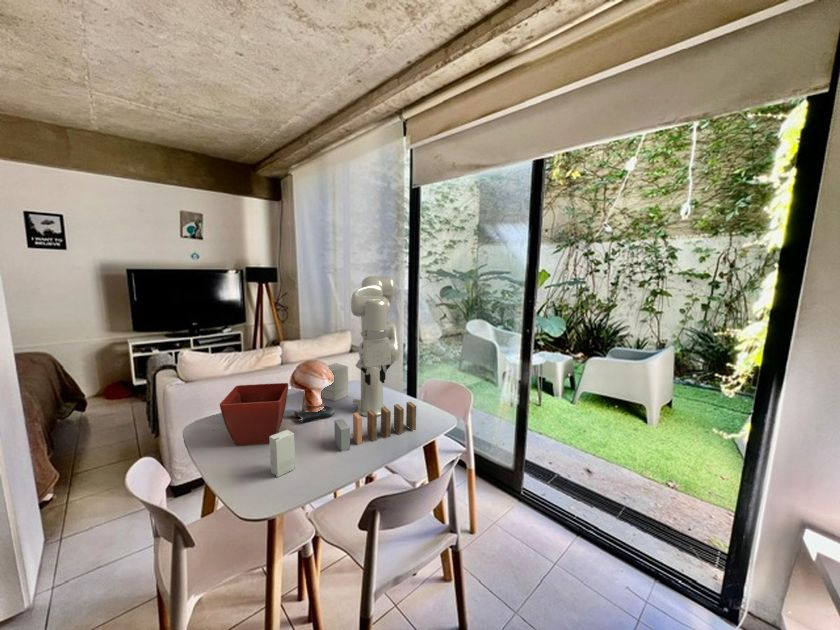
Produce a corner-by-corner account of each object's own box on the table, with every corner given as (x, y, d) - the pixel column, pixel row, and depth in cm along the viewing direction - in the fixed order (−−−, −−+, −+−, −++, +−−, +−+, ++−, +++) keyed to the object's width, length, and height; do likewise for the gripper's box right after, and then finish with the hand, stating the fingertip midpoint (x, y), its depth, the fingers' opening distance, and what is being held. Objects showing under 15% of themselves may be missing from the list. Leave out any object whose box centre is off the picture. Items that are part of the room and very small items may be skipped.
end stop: (341, 451, 118) (341, 429, 117) (334, 441, 125) (334, 420, 124) (350, 449, 120) (349, 427, 118) (342, 439, 126) (342, 418, 125)
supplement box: (336, 391, 173) (336, 362, 170) (348, 395, 167) (348, 366, 165) (321, 397, 165) (321, 366, 163) (334, 401, 160) (333, 370, 158)
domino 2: (386, 437, 128) (386, 412, 127) (380, 432, 132) (381, 407, 131) (390, 436, 129) (390, 411, 127) (384, 431, 133) (384, 406, 132)
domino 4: (412, 431, 134) (412, 406, 132) (406, 426, 138) (406, 402, 136) (415, 430, 134) (416, 406, 133) (409, 425, 139) (410, 401, 137)
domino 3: (399, 434, 131) (399, 409, 129) (393, 429, 135) (394, 404, 134) (403, 433, 132) (403, 408, 130) (397, 428, 136) (397, 404, 134)
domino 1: (372, 441, 125) (372, 415, 124) (367, 435, 130) (367, 410, 128) (376, 440, 126) (376, 414, 125) (371, 434, 130) (371, 409, 129)
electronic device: (303, 429, 137) (338, 415, 145) (300, 416, 136) (335, 402, 145) (296, 423, 144) (329, 410, 153) (293, 411, 143) (327, 398, 152)
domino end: (357, 445, 123) (357, 418, 121) (353, 438, 127) (353, 413, 125) (361, 444, 123) (361, 417, 122) (357, 437, 128) (357, 412, 126)
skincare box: (288, 464, 110) (287, 428, 108) (296, 469, 107) (295, 433, 106) (269, 472, 106) (268, 435, 104) (277, 478, 103) (275, 440, 101)
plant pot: (238, 426, 134) (236, 384, 132) (290, 422, 138) (288, 382, 136) (221, 452, 116) (218, 404, 113) (281, 447, 120) (279, 401, 117)
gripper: (355, 338, 116) (355, 390, 119) (401, 334, 123) (400, 383, 126) (349, 333, 122) (349, 382, 125) (393, 330, 130) (392, 376, 133)
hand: (375, 382), depth 126 cm, fingers open, 4 cm apart
